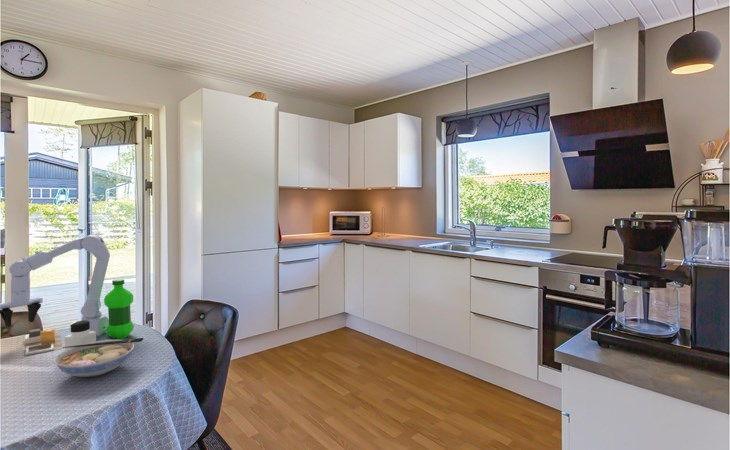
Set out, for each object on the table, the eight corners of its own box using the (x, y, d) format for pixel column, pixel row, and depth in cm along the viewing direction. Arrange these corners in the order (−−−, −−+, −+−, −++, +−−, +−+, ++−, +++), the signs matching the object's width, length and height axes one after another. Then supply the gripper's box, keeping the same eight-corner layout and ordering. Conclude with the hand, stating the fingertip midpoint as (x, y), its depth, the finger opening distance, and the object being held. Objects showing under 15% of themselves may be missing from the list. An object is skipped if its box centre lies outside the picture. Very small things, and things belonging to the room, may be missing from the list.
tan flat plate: (62, 352, 147) (61, 348, 147) (23, 360, 140) (23, 356, 140) (60, 336, 165) (60, 332, 165) (26, 342, 158) (26, 338, 157)
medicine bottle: (97, 348, 151) (95, 319, 151) (82, 355, 144) (80, 324, 144) (80, 347, 152) (79, 318, 151) (64, 354, 145) (63, 324, 144)
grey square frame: (53, 350, 146) (53, 348, 146) (25, 355, 141) (25, 353, 140) (53, 343, 152) (53, 342, 152) (26, 349, 147) (26, 347, 147)
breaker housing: (44, 340, 156) (44, 335, 155) (25, 344, 152) (25, 339, 152) (44, 336, 160) (44, 331, 160) (25, 339, 156) (25, 335, 156)
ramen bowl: (34, 393, 116) (33, 367, 116) (70, 362, 138) (69, 340, 138) (126, 383, 123) (125, 358, 122) (146, 355, 145) (146, 334, 144)
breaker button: (40, 336, 156) (40, 330, 155) (29, 338, 153) (29, 332, 153) (40, 334, 158) (40, 328, 158) (29, 335, 156) (29, 330, 156)
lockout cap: (58, 340, 155) (57, 329, 155) (48, 345, 151) (47, 332, 150) (48, 340, 156) (47, 328, 155) (38, 344, 151) (37, 332, 151)
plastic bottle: (102, 342, 158) (99, 283, 156) (112, 333, 168) (110, 278, 166) (129, 340, 160) (126, 282, 158) (137, 332, 170) (135, 277, 168)
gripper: (35, 286, 160) (34, 318, 161) (-9, 292, 147) (-9, 327, 147) (46, 288, 158) (45, 320, 158) (2, 295, 144) (1, 330, 145)
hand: (20, 324), depth 153 cm, fingers open, 7 cm apart
